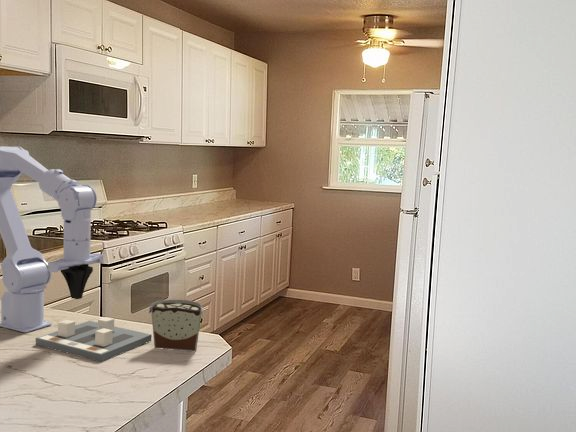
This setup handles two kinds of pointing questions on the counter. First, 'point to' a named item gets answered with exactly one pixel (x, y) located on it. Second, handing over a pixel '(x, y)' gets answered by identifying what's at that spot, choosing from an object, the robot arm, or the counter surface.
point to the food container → (176, 324)
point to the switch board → (86, 345)
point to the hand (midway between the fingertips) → (76, 298)
